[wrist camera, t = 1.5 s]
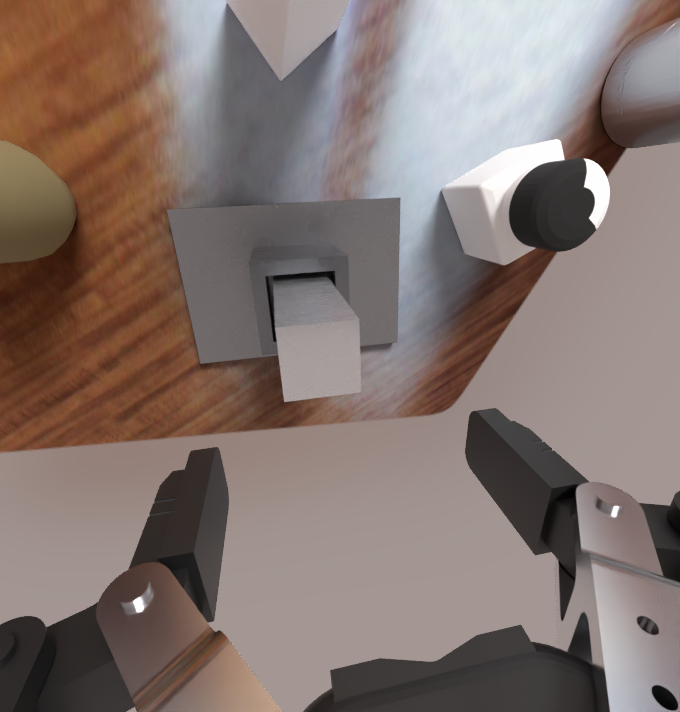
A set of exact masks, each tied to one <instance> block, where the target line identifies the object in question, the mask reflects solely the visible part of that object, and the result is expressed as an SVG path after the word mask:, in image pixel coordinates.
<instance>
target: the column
mask: <svg viewBox="0 0 680 712" xmlns="http://www.w3.org/2000/svg"><path fill="white" fill-rule="evenodd" d="M273 292H274V315H275V331H276V339H277V347H278V356H279V364H280V372H281V380H282V388H283V396H284V402H289V401H296V400H304V399H312V398H320V397H328V396H336V395H343V394H351V393H359V392H361V369H360V327H359V318H358V317H357V315H356V314H355V313H354V311H353V310H352V309H351V307H350V306H349V305H348V303H347V302H346V301H345V299H344V298H343V297H342V295H341V294H340V293H339V291H338V290H337V289H336V287H335V286H334V285H333V283H332V282H331V280H330V279H329V278H328V276H327V275H326V274H325V272H324V271H323V272H310V273H298V274H285V275H273Z"/></svg>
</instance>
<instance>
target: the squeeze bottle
mask: <svg viewBox="0 0 680 712" xmlns="http://www.w3.org/2000/svg"><path fill="white" fill-rule="evenodd" d="M76 216H77V211H76V204H75V199H74V197H73V195H72V193H71V191H70V190H69V188H68V186H67V184H66V183H65V182H64V181H63V180H62V179H61V178H59V177H58V176H57V175H56V174H55V173H54V172H53V171H52V170H51V169H50V168H49V167H47V166H46V165H45V164H44V163H43V162H42V161H41V160H40V159H38V158H37V157H36V156H35V155H34V154H32V153H30V152H28V151H26V150H24V149H22V148H20V147H18V146H16V145H14V144H12V143H10V142H8V141H1V140H0V263H11V262H22V261H32V260H35V259H39V258H42V257H45V256H48V255H52V254H53V253H54V252H55V251H56V250H57V249H58V248H59V247H60V246H61V245H62V244H63V243H64V242H65V241H66V240H67V238H68V236H69V234H70V232H71V230H72V229H73V226H74V223H75V220H76Z"/></svg>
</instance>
